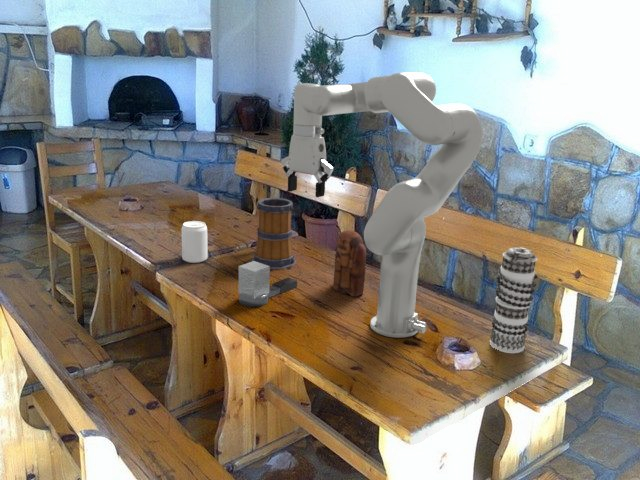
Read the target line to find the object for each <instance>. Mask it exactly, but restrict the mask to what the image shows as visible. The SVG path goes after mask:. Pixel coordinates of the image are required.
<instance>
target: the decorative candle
mask: <svg viewBox="0 0 640 480" xmlns="http://www.w3.org/2000/svg"><path fill="white" fill-rule="evenodd" d="M538 260H539V258H538V257H537V256H536V255H535V253H534V252H533V251H532V250H531V249H528V248H525V247H520V246H519V247H518V246H514V247H509V248H508V249H507V251H504V252H503V253H502V263H501V264H502V265H501V266H500V267H499V268H498V270H497V272H496V274H497V276H496V282H497V284H495V287H496V290H495V296H496V297H495V299H494V300H495V302H496V305H495V310H494V315H493V316H492V322H491V329H490V335H489V338H490V340H489V342H490V343H489V345H491V348H493V349H494V348H495V349H494V350H496V349H497V351H498V350H499V351H498V352H502V353H507V354H518V353H522V352H524V350H525V345H526V339H527V332H528V326H529V321H528V319H529V315H528V313H529V308H530V307H531V306H532V301H533V300H534V297H533V295H532V294H533V293H535V291H536V289H534V288H536V287H535V286H537V283H535V281H533V280H536V279H538V275H537V274H536V270H535V268H536V262H537V261H538Z"/></svg>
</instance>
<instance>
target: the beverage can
mask: <svg viewBox="0 0 640 480" xmlns="http://www.w3.org/2000/svg"><path fill="white" fill-rule="evenodd" d="M208 251H209V250H208V227H207V225H206V222H204V221H198V220H191V221H189V220H188V221H185V222H183V224H182V227H181V258H182V260H183V261H185V262H187V263H191V264H198V263H202V262H205V261H206V260H207V259H208Z"/></svg>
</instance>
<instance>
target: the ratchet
mask: <svg viewBox="0 0 640 480" xmlns="http://www.w3.org/2000/svg"><path fill="white" fill-rule="evenodd" d="M297 287H298V280H297V279H294V278H291V277H289V276H288V277H286V278H283V279H280V280H278V281H276V282H273V283H272V285H269V293H268V294H266V295H264V296H261V297H259V298H256V299H252V298H249V297H247V296H244V295H242V294H239V293H238V298H239V299H238V302H239V304H241V306H244V307H249V308H260V307H262V306H265V305H267V304H268V302H269V299H271V298H272V297H275V296H276V295H279V294H282V293H286V292H288V291H290V290H292V289H294V288H297Z"/></svg>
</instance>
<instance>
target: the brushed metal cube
mask: <svg viewBox="0 0 640 480" xmlns="http://www.w3.org/2000/svg"><path fill="white" fill-rule="evenodd" d="M270 271H271V269H270V266H268V265H265V264H262V263H259V262H256V261H252V260H251V261H249V262H247V263H244V264H241V265H238V295H239V294H242V295H244V296H247V297H249V298H252V299H256V298H259V297H261V296H264V295H266V294H268V293H269V287H270V282H271V281H270V276H271V275H270V273H271V272H270Z"/></svg>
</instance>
